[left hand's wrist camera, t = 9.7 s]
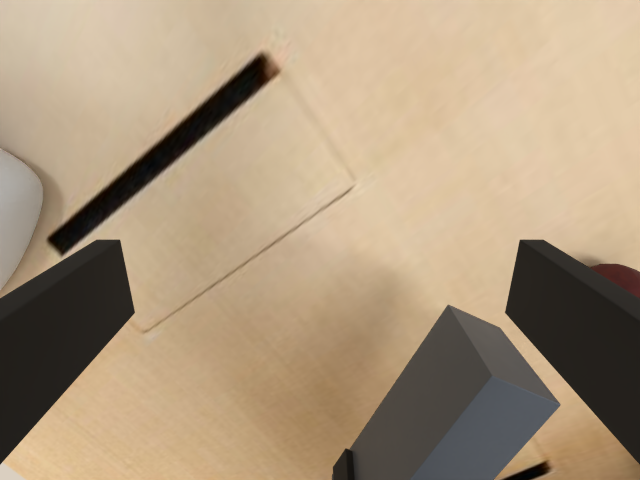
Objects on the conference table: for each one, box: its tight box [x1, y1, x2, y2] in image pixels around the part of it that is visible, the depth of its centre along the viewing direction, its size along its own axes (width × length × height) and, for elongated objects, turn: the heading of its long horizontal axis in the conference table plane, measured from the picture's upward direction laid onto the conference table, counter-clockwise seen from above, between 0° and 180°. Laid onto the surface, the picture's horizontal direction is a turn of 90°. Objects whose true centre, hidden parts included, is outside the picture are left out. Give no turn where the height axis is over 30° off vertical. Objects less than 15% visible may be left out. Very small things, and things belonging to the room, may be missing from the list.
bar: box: [332, 305, 560, 480], centre depth 29 cm, size 22×5×8 cm, turn 155°
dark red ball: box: [591, 264, 640, 298], centre depth 40 cm, size 7×8×7 cm
